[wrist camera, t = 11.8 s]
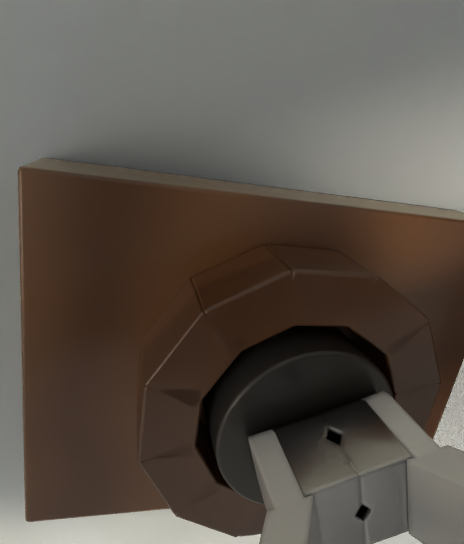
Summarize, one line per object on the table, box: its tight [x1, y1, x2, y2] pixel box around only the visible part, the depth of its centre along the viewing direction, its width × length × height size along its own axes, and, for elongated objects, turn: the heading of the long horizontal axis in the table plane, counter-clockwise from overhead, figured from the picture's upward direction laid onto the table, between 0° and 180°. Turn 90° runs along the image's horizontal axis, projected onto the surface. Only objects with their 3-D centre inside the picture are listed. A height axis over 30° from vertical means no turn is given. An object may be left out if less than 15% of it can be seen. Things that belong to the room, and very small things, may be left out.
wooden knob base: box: [18, 158, 464, 537], centre depth 11 cm, size 12×9×4 cm
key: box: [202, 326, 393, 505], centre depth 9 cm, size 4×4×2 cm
